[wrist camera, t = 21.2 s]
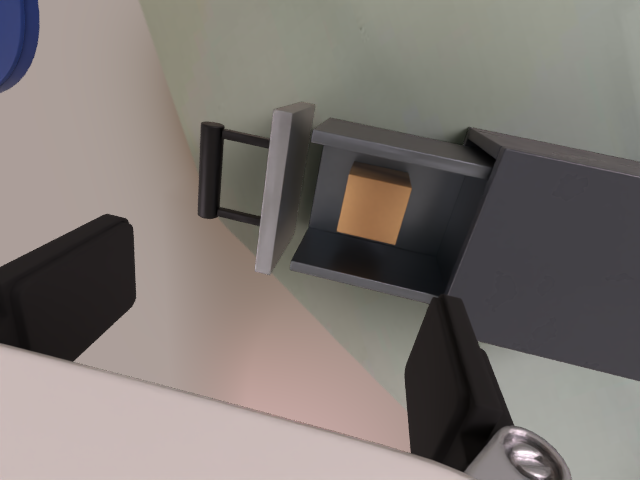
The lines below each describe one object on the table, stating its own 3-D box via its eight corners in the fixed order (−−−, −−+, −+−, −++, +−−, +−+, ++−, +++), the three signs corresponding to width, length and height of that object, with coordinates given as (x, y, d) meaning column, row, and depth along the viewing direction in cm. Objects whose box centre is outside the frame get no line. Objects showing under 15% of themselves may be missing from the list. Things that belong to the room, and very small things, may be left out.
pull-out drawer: (222, 217, 34) (179, 253, 27) (230, 87, 29) (181, 89, 22) (438, 268, 32) (452, 320, 25) (485, 139, 28) (519, 160, 21)
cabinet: (421, 265, 34) (433, 330, 25) (468, 126, 28) (505, 148, 20) (594, 306, 33) (669, 389, 24) (678, 169, 27) (815, 212, 18)
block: (342, 211, 31) (336, 231, 27) (353, 160, 29) (348, 173, 25) (393, 223, 30) (395, 245, 26) (408, 172, 28) (412, 188, 25)
